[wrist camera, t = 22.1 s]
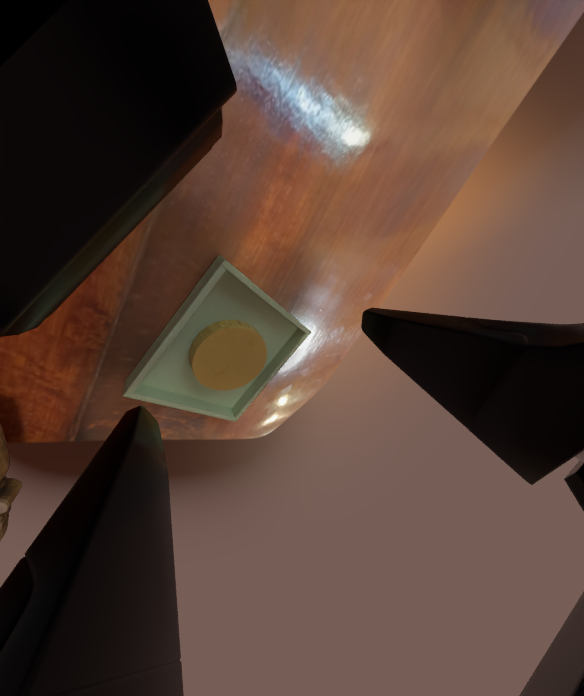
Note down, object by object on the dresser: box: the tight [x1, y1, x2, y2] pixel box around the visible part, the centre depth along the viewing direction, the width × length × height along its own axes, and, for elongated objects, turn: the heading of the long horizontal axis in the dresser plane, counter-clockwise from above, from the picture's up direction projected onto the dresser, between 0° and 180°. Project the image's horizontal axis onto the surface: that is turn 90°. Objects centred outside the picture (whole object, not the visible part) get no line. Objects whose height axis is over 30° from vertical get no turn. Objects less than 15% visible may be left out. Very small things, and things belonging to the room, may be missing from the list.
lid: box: [189, 319, 267, 390], centre depth 20 cm, size 7×7×2 cm
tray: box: [123, 255, 311, 422], centre depth 20 cm, size 13×11×2 cm
